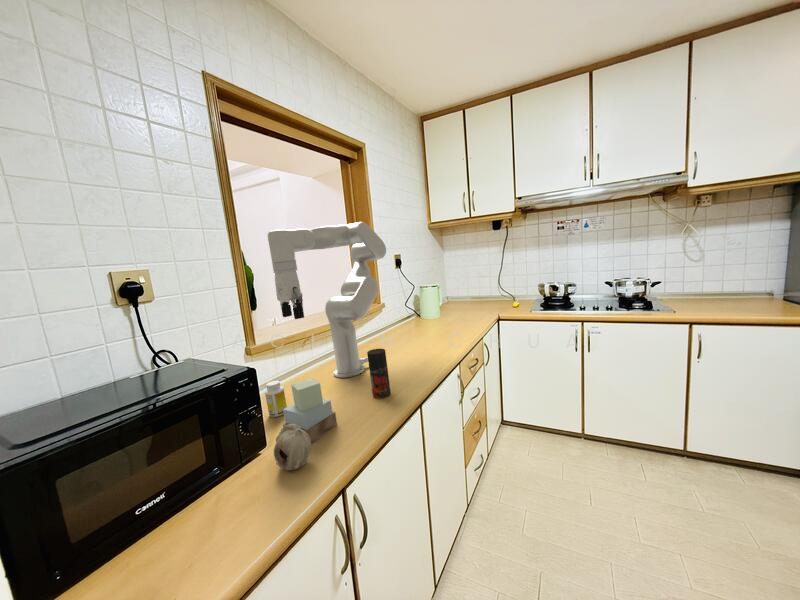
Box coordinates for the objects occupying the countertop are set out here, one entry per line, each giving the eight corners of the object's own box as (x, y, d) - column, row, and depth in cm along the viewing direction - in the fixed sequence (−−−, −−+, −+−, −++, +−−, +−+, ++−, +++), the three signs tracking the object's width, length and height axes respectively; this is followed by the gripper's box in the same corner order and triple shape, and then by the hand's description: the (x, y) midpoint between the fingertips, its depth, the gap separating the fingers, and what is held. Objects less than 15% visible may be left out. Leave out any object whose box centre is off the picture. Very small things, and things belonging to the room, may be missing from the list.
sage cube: (315, 397, 94) (312, 377, 93) (323, 403, 89) (319, 383, 88) (294, 404, 90) (291, 384, 89) (301, 411, 85) (297, 390, 85)
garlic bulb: (283, 456, 80) (276, 418, 78) (318, 450, 80) (311, 412, 79) (270, 482, 70) (262, 439, 69) (310, 476, 71) (303, 433, 69)
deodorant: (369, 396, 108) (363, 352, 106) (382, 389, 112) (376, 347, 110) (381, 400, 104) (375, 355, 102) (394, 393, 108) (388, 349, 106)
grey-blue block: (311, 408, 96) (309, 395, 96) (332, 413, 91) (330, 400, 90) (285, 423, 89) (283, 409, 88) (307, 429, 84) (304, 415, 83)
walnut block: (311, 420, 97) (308, 407, 97) (337, 425, 92) (335, 412, 92) (285, 438, 89) (282, 424, 88) (312, 445, 84) (309, 430, 83)
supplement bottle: (289, 408, 107) (284, 378, 105) (285, 416, 101) (279, 384, 100) (272, 410, 106) (266, 381, 105) (266, 419, 101) (261, 387, 99)
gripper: (264, 270, 113) (273, 318, 115) (284, 267, 100) (293, 321, 102) (285, 267, 118) (293, 313, 120) (307, 264, 105) (315, 316, 107)
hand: (293, 317), depth 111 cm, fingers open, 9 cm apart
